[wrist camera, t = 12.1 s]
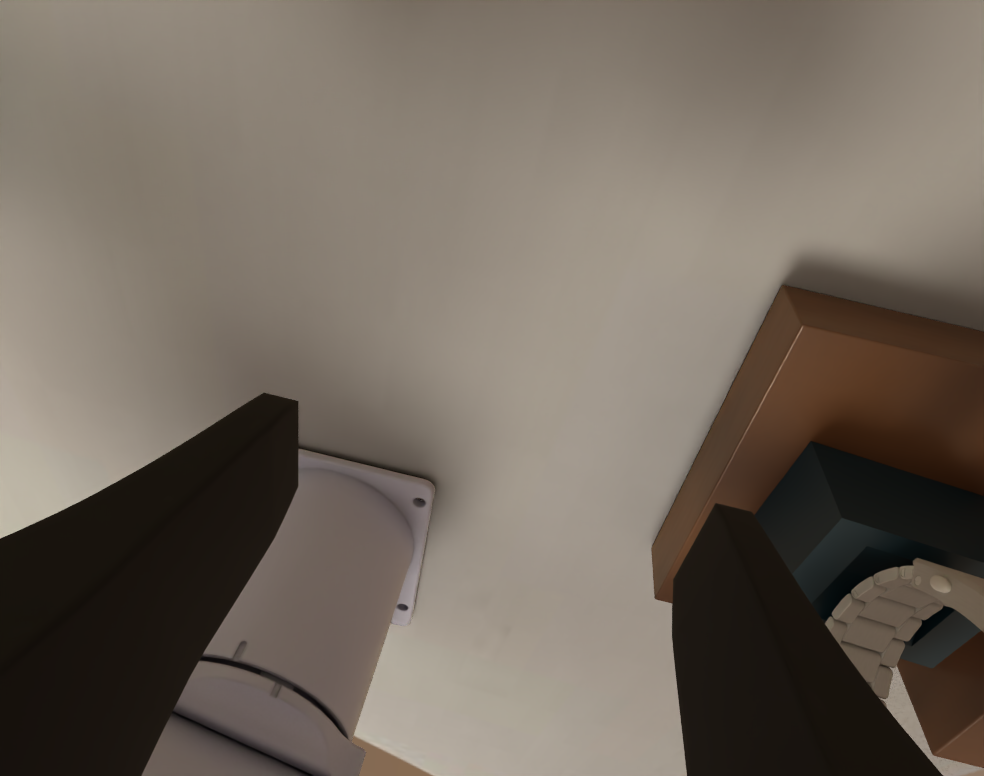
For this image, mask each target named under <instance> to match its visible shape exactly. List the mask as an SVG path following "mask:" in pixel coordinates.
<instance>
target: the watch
mask: <svg viewBox="0 0 984 776" xmlns="http://www.w3.org/2000/svg"><path fill="white" fill-rule="evenodd" d="M754 516H755V517H756V519H757V520H758V522H759V523H760V525H761V526H762V528H763V529H764V531H765V533H766V534H767V536H768V537H769V539H770V540H771V542H772V544H773V545H774V547H775V548H776V550H777V551H778V553H779V555H780V556H781V558H782V559H783V561H784V562H785V564H786V566H787V567H788V569H789V570H790V572H791V573H792V575H793V576H794V578H795V580H796V581H797V583H798V584H799V586H800V587H801V589H802V590H803V592H804V593H805V595H806V596H807V598H808V599H809V601H810V603H811V604H812V605H813V607H814V608H815V610H816V611H817V613H818V614H819V616H820V617H821V619H822V620H823V622H824V623H825V625H826V626H827V628H828V629H829V631H830V632H831V633H832V635H833V636H834V638H835V639H836V641H837V642H838V643H839V645H840V646H841V648H842V649H843V650H844V652H845V653H846V655H847V656H848V657H849V659H850V660H851V662H852V663H853V664H854V666H855V667H856V668H857V670H858V671H859V672H860V674H861V675H862V676H863V678H864V679H865V680H866V681H867V683H868V684H869V686H870V687H871V688H872V690H873V691H874V692H875V694H876V695H877V696H878V697H879V698H883V699H886V698H887V697H888V695H889V689H890V684H891V680H892V676H893V672H892V670H891V669H890V668H889V667H891V668H895V667H896V665H897V663H898V660H899V658H900V659H903V660H906V661H910V662H913V663H916V664H919V665H923V666H926V667H929V668H934V667H935V666H936V665H937V664H939V663H940V662H941V661H943V660H944V659H945V658H946V657H948V656H949V655H950V654H952V653H953V652H954V651H955V650H957V649H958V648H959V647H961V646H962V645H963V644H964V643H966V642H967V641H968V640H969V639H971V638H972V637H973V636H975V635H976V634H977V633H978V632H980V631H983V632H984V496H982V495H979V494H976V493H973V492H969V491H966V490H963V489H960V488H957V487H954V486H951V485H947V484H944V483H941V482H938V481H935V480H932V479H929V478H926V477H922V476H919V475H916V474H913V473H910V472H907V471H904V470H900V469H897V468H894V467H891V466H888V465H885V464H882V463H879V462H875V461H872V460H869V459H866V458H863V457H860V456H857V455H853V454H850V453H847V452H844V451H841V450H838V449H835V448H831V447H828V446H825V445H822V444H819V443H816V442H813V441H810V443H809V444H808V445H807V447H806V448H805V449H804V451H803V452H802V453H801V455H800V456H799V457H798V459H797V460H796V461H795V462H794V464H793V465H792V466H791V468H790V469H789V470H788V472H787V473H786V474H785V476H784V477H783V478H782V480H781V481H780V482H779V483H778V485H777V486H776V487H775V489H774V490H773V491H772V493H771V494H770V495H769V497H768V498H767V499H766V501H765V502H764V503H763V504H762V506H761V507H760V508H759V510H758V511H757V512H756V514H755V515H754ZM881 664H882V665H881ZM880 700H881V699H880ZM881 702H882V703H883V704H884V705H885V707H886V703H885V702H884V701H883V700H881Z"/></svg>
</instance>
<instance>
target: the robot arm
mask: <svg viewBox="0 0 984 776" xmlns="http://www.w3.org/2000/svg"><path fill="white" fill-rule="evenodd" d="M434 494H435V487H434V486H433V484H432V483H431V482H430V481H428V480H425V479H422V478H418V477H414V476H409V475H405V474H401V473H397V472H393V471H389V470H385V469H381V468H377V467H373V466H369V465H364V464H360V463H356V462H352V461H348V460H344V459H340V458H336V457H332V456H328V455H323V454H319V453H315V452H311V451H307V450H303V449H299V448H298V401H296V400H292V399H288V398H284V397H280V396H276V395H272V394H267V393H263V394H261V395H259V396H258V397H256V398H254V399H253V400H251V401H249V402H248V403H246V404H244V405H243V406H241V407H240V408H238V409H237V410H235V411H233V412H232V413H230V414H229V415H227V416H226V417H224V418H223V419H221V420H219V421H218V422H216V423H215V424H213V425H212V426H210V427H208V428H207V429H205V430H204V431H202V432H200V433H199V434H197V435H196V436H194V437H193V438H191V439H189V440H188V441H186V442H184V443H183V444H181V445H179V446H178V447H176V448H174V449H173V450H171V451H170V452H168V453H166V454H165V455H163V456H161V457H160V458H158V459H156V460H155V461H153V462H151V463H150V464H148V465H146V466H145V467H143V468H141V469H139V470H137V471H136V472H134V473H132V474H130V475H128V476H127V477H125V478H123V479H121V480H119V481H118V482H116V483H114V484H112V485H110V486H108V487H107V488H105V489H103V490H101V491H99V492H98V493H96V494H94V495H92V496H90V497H88V498H86V499H84V500H82V501H80V502H78V503H76V504H74V505H72V506H70V507H68V508H66V509H64V510H62V511H60V512H58V513H56V514H54V515H52V516H50V517H47V518H45V519H43V520H41V521H39V522H36V523H34V524H32V525H30V526H28V527H26V528H23V529H21V530H19V531H17V532H15V533H12V534H10V535H8V536H5V537H3V538H1V539H0V776H359V773H360V770H361V767H362V764H363V760H364V757H365V754H366V752H365V750H364V749H363V748H361V747H359V746H357V745H355V744H353V743H352V742H351V741H352V738H353V735H354V732H355V729H356V726H357V723H358V720H359V717H360V714H361V711H362V708H363V705H364V702H365V699H366V696H367V693H368V690H369V687H370V684H371V681H372V678H373V675H374V672H375V669H376V666H377V663H378V660H379V657H380V654H381V651H382V647H383V644H384V641H385V638H386V635H387V632H388V629H389V626H390V623H392V624H396V625H400V626H406V625H408V624H410V622H411V620H412V617H413V611H414V606H415V600H416V594H417V589H418V583H419V578H420V572H421V566H422V561H423V555H424V550H425V544H426V538H427V533H428V527H429V522H430V516H431V510H432V505H433V499H434ZM417 498H421V499H423V500H424V501H421V500H419V499H417ZM672 640H673V651H674V660H675V670H676V679H677V689H678V698H679V706H680V715H681V724H682V733H683V742H684V751H685V760H686V769H687V776H943V775H942V774H941V773H940V772H939V771H938V769H937V768H936V767H935V766H934V765H933V763H932V762H931V761H930V760H929V759H928V758H927V756H926V755H925V754H924V753H923V752H922V750H921V749H920V748H919V747H918V746H917V744H916V743H915V742H914V741H913V740H912V738H911V737H910V736H909V735H908V734H907V733H906V731H905V730H904V729H903V728H902V727H901V725H900V724H899V723H898V722H897V720H896V719H895V718H894V717H893V715H892V714H891V713H890V712H889V710H888V709H887V708H886V707H885V705H884V704H883V703H882V702H881V700H880V699H879V698H878V696H877V695H876V694H875V692H874V691H873V690H872V688H871V687H870V686H869V684H868V683H867V682H866V680H865V679H864V678H863V676H862V675H861V674H860V672H859V671H858V670H857V668H856V667H855V666H854V664H853V663H852V662H851V660H850V659H849V657H848V656H847V655H846V653H845V652H844V650H843V649H842V648H841V646H840V645H839V643H838V642H837V641H836V639H835V638H834V636H833V635H832V633H831V632H830V631H829V629H828V628H827V626H826V625H825V623H824V622H823V620H822V619H821V617H820V616H819V614H818V613H817V611H816V610H815V608H814V607H813V605H812V604H811V603H810V601H809V599H808V598H807V596H806V595H805V593H804V592H803V590H802V589H801V587H800V586H799V584H798V583H797V581H796V580H795V578H794V576H793V575H792V573H791V572H790V570H789V569H788V567H787V566H786V564H785V562H784V561H783V559H782V558H781V556H780V555H779V553H778V551H777V550H776V548H775V547H774V545H773V544H772V542H771V540H770V539H769V537H768V536H767V534H766V533H765V531H764V529H763V528H762V526H761V525H760V523H759V522H758V520H757V519H756V517H755V516H754V514H753V513H752V512H751V511H747V510H743V509H739V508H735V507H730V506H726V505H722V504H718V503H715V505H714V507H713V509H712V510H711V512H710V514H709V516H708V518H707V519H706V521H705V523H704V525H703V527H702V528H701V530H700V532H699V534H698V536H697V537H696V539H695V541H694V543H693V545H692V546H691V548H690V550H689V552H688V554H687V555H686V557H685V559H684V561H683V563H682V564H681V566H680V568H679V570H678V572H677V573H676V575H675V577H674V579H673V605H672Z"/></svg>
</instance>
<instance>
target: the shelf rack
mask: <svg viewBox="0 0 984 776" xmlns="http://www.w3.org/2000/svg"><path fill="white" fill-rule="evenodd" d="M810 441H813V442H816V443H819V444H822V445H825V446H828V447H831V448H835V449H838V450H841V451H844V452H847V453H850V454H853V455H857V456H860V457H863V458H866V459H869V460H872V461H875V462H879V463H882V464H885V465H888V466H891V467H894V468H897V469H900V470H904V471H907V472H910V473H913V474H916V475H919V476H922V477H926V478H929V479H932V480H935V481H938V482H941V483H944V484H947V485H951V486H954V487H957V488H960V489H963V490H966V491H969V492H973V493H976V494H979V495H982V496H984V332H982V331H978V330H974V329H970V328H965V327H961V326H957V325H952V324H948V323H944V322H940V321H935V320H931V319H927V318H922V317H918V316H914V315H910V314H905V313H901V312H897V311H893V310H888V309H884V308H880V307H875V306H871V305H867V304H863V303H858V302H854V301H850V300H845V299H841V298H837V297H833V296H828V295H824V294H820V293H816V292H811V291H807V290H803V289H798V288H794V287H790V286H786V285H782V286H781V288H780V290H779V292H778V294H777V296H776V298H775V300H774V302H773V304H772V306H771V308H770V310H769V312H768V314H767V316H766V318H765V320H764V322H763V324H762V326H761V328H760V330H759V332H758V334H757V337H756V339H755V341H754V343H753V345H752V347H751V349H750V351H749V353H748V355H747V357H746V359H745V361H744V363H743V365H742V367H741V369H740V371H739V373H738V375H737V377H736V379H735V381H734V383H733V385H732V387H731V389H730V391H729V393H728V395H727V397H726V399H725V401H724V403H723V405H722V407H721V409H720V411H719V413H718V415H717V417H716V419H715V421H714V423H713V425H712V427H711V429H710V431H709V433H708V435H707V437H706V439H705V441H704V443H703V445H702V447H701V450H700V452H699V454H698V456H697V458H696V460H695V462H694V464H693V466H692V468H691V470H690V472H689V474H688V476H687V478H686V480H685V482H684V484H683V486H682V488H681V490H680V492H679V494H678V496H677V498H676V500H675V502H674V504H673V506H672V508H671V510H670V512H669V514H668V516H667V518H666V520H665V522H664V524H663V526H662V528H661V530H660V532H659V534H658V536H657V538H656V540H655V542H654V544H653V546H652V548H651V549H652V564H653V580H654V595H655V599H657V600H661V601H665V602H669V603H673V579H674V577H675V575H676V573H677V572H678V570H679V568H680V566H681V564H682V563H683V561H684V559H685V557H686V555H687V554H688V552H689V550H690V548H691V546H692V545H693V543H694V541H695V539H696V537H697V536H698V534H699V532H700V530H701V528H702V527H703V525H704V523H705V521H706V519H707V518H708V516H709V514H710V512H711V510H712V509H713V507H714V505H715V503H718V504H722V505H726V506H730V507H735V508H739V509H743V510H747V511H751V512H752V513H753V514H754V515H755V514H756V512H757V511H758V510H759V508H760V507H761V506H762V504H763V503H764V502H765V501H766V499H767V498H768V497H769V495H770V494H771V493H772V491H773V490H774V489H775V487H776V486H777V485H778V483H779V482H780V481H781V480H782V478H783V477H784V476H785V474H786V473H787V472H788V470H789V469H790V468H791V466H792V465H793V464H794V462H795V461H796V460H797V459H798V457H799V456H800V455H801V453H802V452H803V451H804V449H805V448H806V447H807V445H808V444H809V443H810ZM897 667H898V670H899V672H900V675H901V677H902V680H903V682H904V685H905V687H906V690H907V692H908V695H909V697H910V700H911V702H912V705H913V707H914V710H915V712H916V715H917V717H918V720H919V722H920V725H921V727H922V730H923V732H924V735H925V737H926V740H927V742H928V745H929V747H930V750H931V752H932V754H933V755H934V756H938V757H942V758H946V759H950V760H954V761H958V762H962V763H966V764H970V765H974V766H978V767H982V768H984V632H983V631H980V632H978V633H977V634H976V635H975V636H973V637H972V638H971V639H969V640H968V641H967V642H966V643H964V644H963V645H962V646H961V647H959V648H958V649H957V650H955V651H954V652H953V653H952V654H950V655H949V656H948V657H946V658H945V659H944V660H943V661H941V662H940V663H939V664H937V665H936V666H935V667H934V668H929V667H926V666H923V665H919V664H916V663H913V662H910V661H906V660H903V659H900V658H899V660H898V663H897Z"/></svg>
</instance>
